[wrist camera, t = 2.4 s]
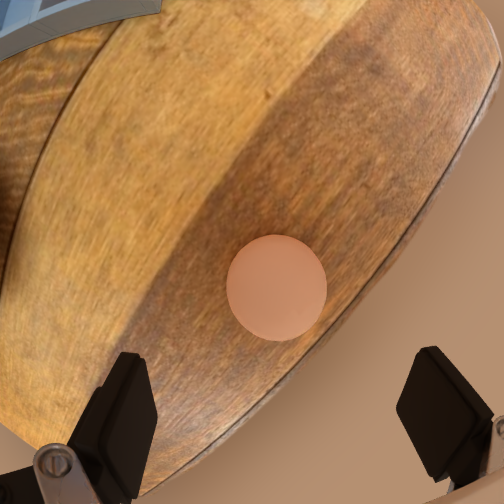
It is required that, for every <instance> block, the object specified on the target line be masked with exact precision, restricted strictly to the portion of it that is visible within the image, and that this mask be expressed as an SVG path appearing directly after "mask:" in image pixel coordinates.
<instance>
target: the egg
mask: <svg viewBox="0 0 504 504" xmlns="http://www.w3.org/2000/svg"><path fill="white" fill-rule="evenodd" d="M227 297H228V301H229V304H230V308H231V310H232V312H233V314H234V315H235V317H236V318H237V320H238V321H239V322H240V324H241V325H242V326H244V327H245V328H246V329H247V330H248V331H250V332H251V333H253V334H254V335H255V336H258V337H260V338H263V339H266V340H272V341H285V340H291V339H293V338H296V337H298V336H300V335H302V334H303V333H305V332H306V331H308V330H309V329H310V328H311V327H312V326H313V325H314V323H315V322H316V321H317V320H318V318H319V316H320V314H321V312H322V310H323V307H324V304H325V301H326V298H327V282H326V276H325V272H324V270H323V267H322V265H321V263H320V261H319V259H318V258H317V256H316V255H315V254H314V252H313V251H312V250H311V249H310V248H309V247H308V246H306V245H305V244H304V243H303V242H301V241H299V240H297V239H295V238H293V237H289V236H285V235H266V236H263V237H260V238H257V239H255V240H253V241H251V242H249V243H248V244H247V245H246V246H244V247H243V248H242V249H241V250H240V251H239V252H238V254H237V255H236V256H235V258H234V259H233V261H232V263H231V266H230V268H229V271H228V276H227Z"/></svg>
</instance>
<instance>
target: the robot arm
mask: <svg viewBox="0 0 504 504" xmlns="http://www.w3.org/2000/svg"><path fill="white" fill-rule="evenodd" d="M396 411H397V414H398V416H399V418H400V420H401V422H402V424H403V426H404V427H405V429H406V431H407V433H408V435H409V437H410V439H411V441H412V443H413V445H414V447H415V449H416V451H417V453H418V455H419V457H420V459H421V461H422V463H423V465H424V467H425V469H426V471H427V473H428V475H429V476H430V477H433V479H434V481H435V483H437V482H439V481H442V480H444V479H447V478H448V477H449V476H450V479H451V482H450V486H449V489H448V492H447V494H446V495H444V496H441V497H439V498H437V499H434V500H432V501H429V502H426V503H424V504H504V416H500V417H498V418H496V420H495V421H494V422H492V420H491V419H492V417H493V416H494V413H493V412H492V411H491V410H490V408H489V407H488V406H487V404H486V403H485V402H484V401H483V399H482V398H481V397H480V396H479V394H478V393H477V392H476V391H475V390H474V388H473V387H472V386H471V385H470V384H469V382H468V381H467V380H466V379H465V378H464V376H462V374H461V373H460V372H459V371H458V369H457V368H456V367H455V366H454V365H453V364H452V363H451V361H450V360H449V359H448V358H447V357H446V356H445V355H444V353H442V351H441V350H440V349H439V348H438V347H437V346H430V347H424V348H421V350H420V351H419V352H418V353H417V354H416V356H415V359H414V362H413V365H412V367H411V370H410V373H409V375H408V378H407V381H406V383H405V386H404V388H403V391H402V393H401V396H400V398H399V400H398V403H397V405H396ZM157 418H158V416H157V410H156V406H155V402H154V398H153V394H152V390H151V385H150V381H149V376H148V371H147V367H146V362H145V359H144V358H140V355H139V354H138V353H129V352H121V353H120V355H119V357H118V358H117V360H116V362H115V364H114V366H113V367H112V369H111V371H110V373H109V375H108V377H107V378H106V380H105V382H104V384H103V386H102V387H100V386H99V387H97V388H96V390H95V391H94V393H93V395H92V397H91V399H90V400H89V402H88V404H87V406H86V408H85V410H84V412H83V414H82V415H81V417H80V419H79V421H78V423H77V425H76V427H75V429H74V431H73V433H72V435H71V437H70V439H69V441H68V443H67V445H64V444H60V443H51V444H47V445H45V446H43V447H41V448H40V449H39V450H38V451H37V452H36V454H35V455H34V459H33V465H32V466H30V467H26V468H23V469H20V470H17V471H13V472H10V473H6V474H3V475H0V504H120V503H121V504H131V501H132V499H137V497H138V494H139V490H140V485H141V481H142V477H143V473H144V470H145V466H146V462H147V458H148V454H149V450H150V447H151V443H152V439H153V435H154V432H155V428H156V424H157Z"/></svg>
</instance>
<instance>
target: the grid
mask: <svg viewBox="0 0 504 504" xmlns="http://www.w3.org/2000/svg"><path fill="white" fill-rule="evenodd" d="M161 3H162V0H0V61H2V60H4V59H6V58H8V57H11V56H13V55H15V54H17V53H19V52H22V51H24V50H26V49H29V48H31V47H33V46H36V45H38V44H41V43H44V42H46V41H49V40H52V39H54V38H57V37H60V36H63V35H66V34H69V33H72V32H75V31H79V30H82V29H86V28H89V27H93V26H96V25H100V24H104V23H108V22H113V21H117V20H122V19H126V18H132V17H137V16H142V15H148V14H155V13H160V9H161Z"/></svg>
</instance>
